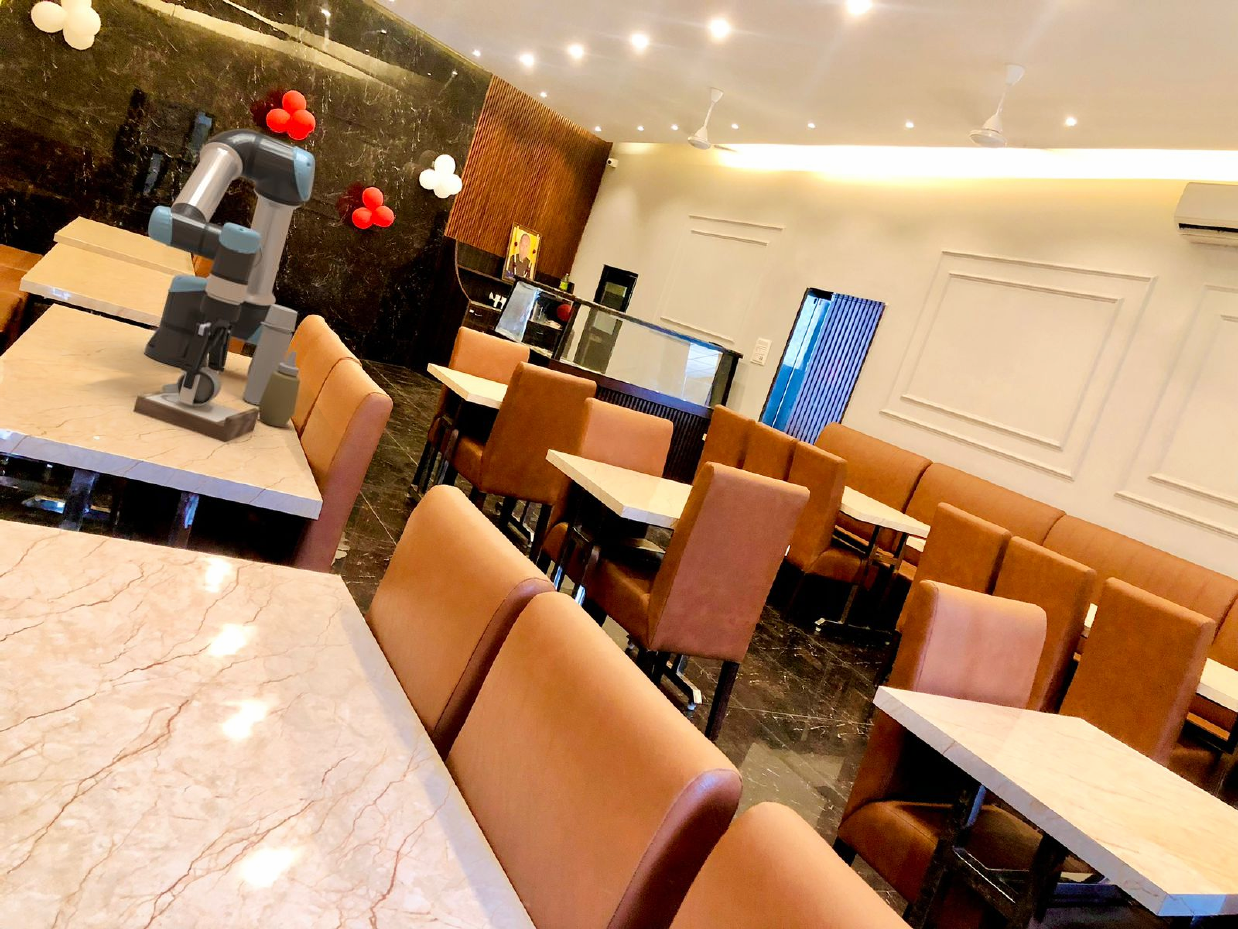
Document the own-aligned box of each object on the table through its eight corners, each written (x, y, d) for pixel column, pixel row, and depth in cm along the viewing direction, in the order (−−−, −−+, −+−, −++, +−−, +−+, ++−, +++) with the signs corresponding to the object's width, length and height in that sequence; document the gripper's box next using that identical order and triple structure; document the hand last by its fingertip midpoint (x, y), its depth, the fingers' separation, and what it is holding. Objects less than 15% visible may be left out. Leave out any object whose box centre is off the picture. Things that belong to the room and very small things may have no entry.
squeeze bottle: (260, 415, 212) (281, 344, 209) (293, 426, 213) (315, 356, 210) (249, 419, 204) (271, 346, 201) (283, 431, 205) (305, 358, 202)
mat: (175, 391, 194) (175, 390, 193) (242, 414, 195) (242, 413, 195) (144, 398, 180) (144, 397, 180) (216, 422, 181) (216, 422, 181)
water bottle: (278, 408, 224) (306, 315, 220) (254, 407, 217) (282, 310, 213) (253, 396, 228) (280, 304, 224) (229, 394, 220) (256, 298, 216)
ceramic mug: (218, 403, 192) (226, 369, 191) (210, 410, 185) (219, 375, 183) (166, 389, 189) (174, 355, 188) (156, 396, 181) (165, 360, 180)
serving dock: (169, 401, 195) (175, 380, 194) (253, 430, 197) (259, 409, 196) (133, 411, 179) (139, 388, 178) (225, 442, 181) (231, 419, 180)
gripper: (226, 292, 194) (199, 388, 197) (182, 292, 173) (153, 399, 176) (259, 304, 194) (231, 400, 198) (220, 305, 173) (190, 412, 177)
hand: (194, 399), depth 187 cm, fingers closed on ceramic mug, 9 cm apart
